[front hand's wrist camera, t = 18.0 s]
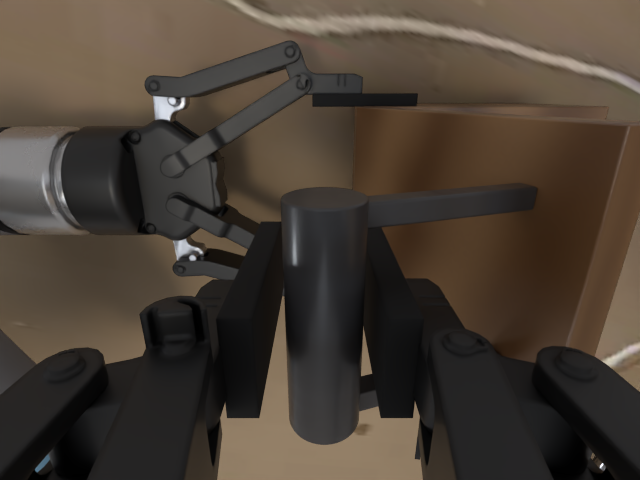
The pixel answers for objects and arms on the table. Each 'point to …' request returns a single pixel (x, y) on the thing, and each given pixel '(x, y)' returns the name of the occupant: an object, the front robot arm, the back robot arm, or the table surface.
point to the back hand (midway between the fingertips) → (405, 181)
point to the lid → (457, 241)
